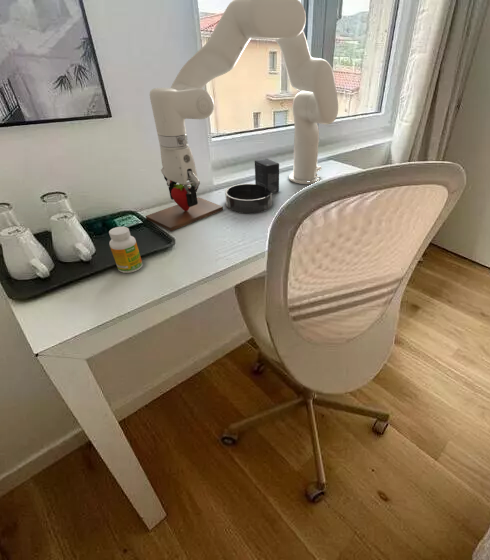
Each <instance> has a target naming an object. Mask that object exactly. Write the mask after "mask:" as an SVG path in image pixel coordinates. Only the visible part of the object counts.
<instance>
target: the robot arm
mask: <svg viewBox="0 0 490 560" xmlns="http://www.w3.org/2000/svg"><path fill="white" fill-rule="evenodd" d="M306 21H307V15H306V10H305V7H304V5H303V4H302V3H301V1H300V0H231V1H230V3H229V4H228V5H227V7H226V8H225V10H224V12H223V14H222V16H221V17H220V19H219V20H218V23H217V24H216V26H215V28H214V29H213V31H212V33H211V35H210V36H209V38H208V40H207V41H206V43H205V44H204V45H203V46H202V47H201V48H200V49H198V50H197V52H195V54H193V56H191V57H190V59H188V60H187V61H186V63H184V65H183V66H182V68H181V69H180V70H179V72H178V73H177V75H176V77H175V78H174V81H173V82H172V84H171V86H170V87H156V88H152V89H151V90H150V91H149V100H150V105H151V109H152V115H153V118H154V119H153V120H154V124H155V129H156V134H157V139H158V143H159V150H160V159H161V165H162V167H161V169H160V172H161V174H162V175H163V179H164V180H165V181H166V186H167V187H168V192H169V196H170V200H172V201H174V199H173V197H172V195H171V190H172V189H173V187H176V186H175V185H174V184H182V185H184V187H185V189H186V191H187V194H186V197H187V203H188V206H189V207H191V206H194V205H197V204H198V201H197V198H198V195H197V192H198V190H199V186H200V184H201V181H200V180H199V178H198V173H197V167H196V163H195V158H194V154H193V152H192V150H191V147H190V146H189V140H188V133H187V127H186V126H187V125H186V120H205V119H207V118H209V117H210V116H211V115H212V114H213V112H214V110H215V102H214V98H213V97H212V95H211V94H210V93H209V91H207V90H206V89H204V87H205V86H206V85H208V84H209V82H211V81H212V80H214V79H217V78H218V77H220V76H224V75H226V74H227V73H229V72H231V71H232V70H233V69H234V68H235V67H236V65H237V64H238V61H239V60H240V58H241V56H242V54H243V52H244V51H245V49H246V47H247V46H248V44H249V43H250V41H251V40H252V39H264V40H265V39H267V40H268V39H271V40H274V42H276V43H277V45H278V47H279V49H280V51H281V54H282V58H283V62H284V65H285V69H286V73H287V77H288V80H289V83H290V85H291V87H292V88H293V89H295V90H297V91H298V93H297V94H296V95H294V98H293V100H292V113H293V115H292V116H293V123H294V125H293V126H294V133H293V134H294V139H293V166H292V167H293V168H292V172H291V173H290V174H289V176H288V179H289V180H290V182H292V183H295V184H300V185H313V184H316V183H315V182H317V181H318V182H320V180H321V179H320V178H321V177H320V175H318V172H319V171H322V168H323V167H322V166H321V165H318V158H319V157H318V155H319V145H320V143H319V142H320V128H319V125H331V124H333V123H334V121H336V119H337V118H338V117H337V116H338V113H339V99H338V94H337V93H338V92H337V87H336V81H335V79H336V78H335V74H334V71H333V68H332V66H331V64H330V62H328V61H327V60H326V59H323V58H320V57H319V58H318V57H312V55H311V52H310V49H309V45H308V41H307V37H306V34H305V32H304V29H305V26H306ZM318 124H319V125H318ZM317 177H320V178H317ZM316 178H317V179H316ZM318 179H319V180H318ZM316 180H317V181H316ZM307 181H310V182H307ZM318 182H317V183H318ZM188 186H190V187H188ZM189 188H190V189H189Z"/></svg>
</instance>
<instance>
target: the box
mask: <svg viewBox="0 0 490 560" xmlns="http://www.w3.org/2000/svg"><path fill="white" fill-rule="evenodd" d="M254 184H258V185H263V186H266V187H268V188H269V189H270V190H271V192H272V195H273V194H276V193H279V192H280V163H279V162H276V161H273V160H272V159H269V158H262V159H255V160H254Z"/></svg>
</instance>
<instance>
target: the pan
mask: <svg viewBox="0 0 490 560" xmlns="http://www.w3.org/2000/svg"><path fill="white" fill-rule="evenodd" d="M272 195H273V194H272V192H271V190H270V189H269V188H268V187H266V186H263V185H258V184H255V183H240V184H239V183H238V184H234V185H231V186H230V187H228V188H226V190H225V191H224V196H225V205H226V208H227V209H228V210H229V211H231V212H233V213H238V214H245V215H246V214H247V215H251V214H259V213H263V212H266V211H268V210H269V209H271V207H272V204H273V202H272V201H273V200H272V197H273V196H272Z"/></svg>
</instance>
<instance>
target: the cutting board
mask: <svg viewBox="0 0 490 560" xmlns="http://www.w3.org/2000/svg"><path fill="white" fill-rule="evenodd" d="M197 201H198V204H197V205H194V206H191V207H190V208H189V209H188V211H184V210H183V209H182V208H181V207H180V206H179V205H178V204H175V205H172V206H170V207H166V208H163V209H161V210H158V211H155V212H151V213H149V214H146V215H145V219H146V220H147V221H148V222H151V223H153V224H155V225H157V226H159V227H161V228H163V229H165V230H167V231H168V232H173V231H176V230H179V229H180V228H183V227H186V226H188V225H190V224H193V223H195V222H198V221H200V220H203V219H205V218H207V217H210V216H212V215H215V214H217V213H219V212H221V211H224V206H222V205H220V204H218V203H215V202H212V201H211V200H208V199H204V198H203V197H200V196H197Z"/></svg>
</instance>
